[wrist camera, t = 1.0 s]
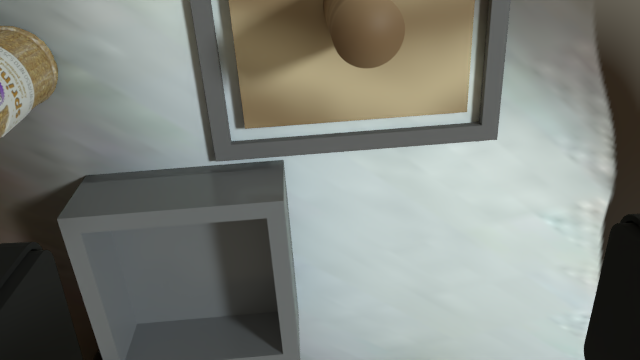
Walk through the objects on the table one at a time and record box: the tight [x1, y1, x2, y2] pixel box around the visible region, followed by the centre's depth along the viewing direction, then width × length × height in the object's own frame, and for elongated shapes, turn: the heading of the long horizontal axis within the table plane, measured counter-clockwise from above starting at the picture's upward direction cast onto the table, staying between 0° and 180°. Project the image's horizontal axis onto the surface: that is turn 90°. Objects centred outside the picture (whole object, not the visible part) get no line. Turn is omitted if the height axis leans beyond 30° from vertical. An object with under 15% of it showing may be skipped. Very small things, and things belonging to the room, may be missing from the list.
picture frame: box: [190, 0, 511, 161], centre depth 30 cm, size 17×17×1 cm
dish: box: [57, 160, 300, 360], centre depth 35 cm, size 12×12×5 cm
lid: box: [229, 0, 475, 129], centre depth 28 cm, size 13×13×7 cm
